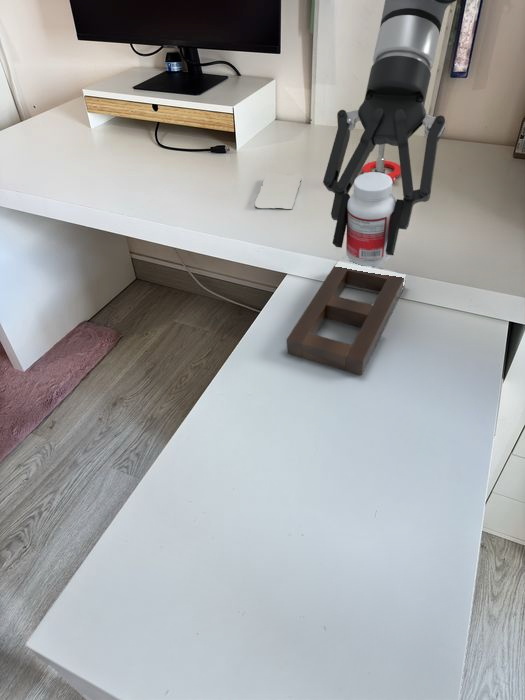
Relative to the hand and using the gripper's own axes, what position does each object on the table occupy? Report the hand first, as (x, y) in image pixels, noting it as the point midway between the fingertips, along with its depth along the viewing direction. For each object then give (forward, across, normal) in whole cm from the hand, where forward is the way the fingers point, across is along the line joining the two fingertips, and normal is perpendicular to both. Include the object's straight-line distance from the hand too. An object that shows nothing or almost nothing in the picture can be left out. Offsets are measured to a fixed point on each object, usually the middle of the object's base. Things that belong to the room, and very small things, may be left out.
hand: (362, 249), depth 66 cm
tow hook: (-25, +8, -48) cm, 55 cm away
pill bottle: (0, 0, -5) cm, 5 cm away
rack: (+9, +2, -14) cm, 17 cm away
